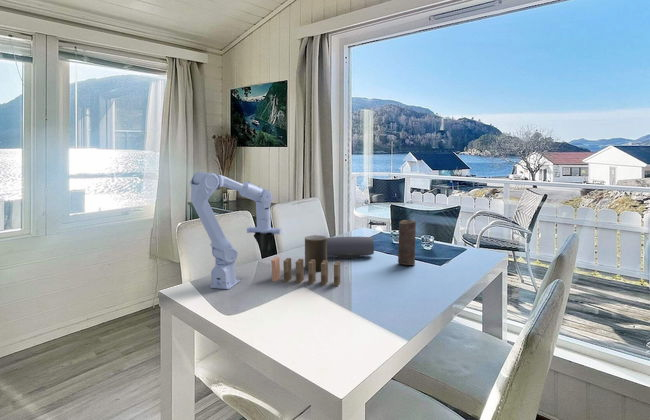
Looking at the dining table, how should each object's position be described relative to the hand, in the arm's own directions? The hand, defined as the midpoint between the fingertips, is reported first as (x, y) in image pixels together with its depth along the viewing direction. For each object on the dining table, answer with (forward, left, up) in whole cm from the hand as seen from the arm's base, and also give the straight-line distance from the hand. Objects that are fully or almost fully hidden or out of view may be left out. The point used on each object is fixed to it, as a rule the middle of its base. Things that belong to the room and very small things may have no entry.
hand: (264, 250), depth 156 cm
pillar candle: (+11, -19, -10) cm, 24 cm away
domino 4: (-6, -22, -10) cm, 25 cm away
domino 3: (-6, -17, -10) cm, 21 cm away
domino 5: (-6, -27, -10) cm, 29 cm away
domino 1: (-6, -7, -10) cm, 14 cm away
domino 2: (-6, -12, -10) cm, 17 cm away
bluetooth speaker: (+30, -30, -10) cm, 44 cm away
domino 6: (-6, -32, -10) cm, 34 cm away
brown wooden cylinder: (+24, -57, -10) cm, 63 cm away
